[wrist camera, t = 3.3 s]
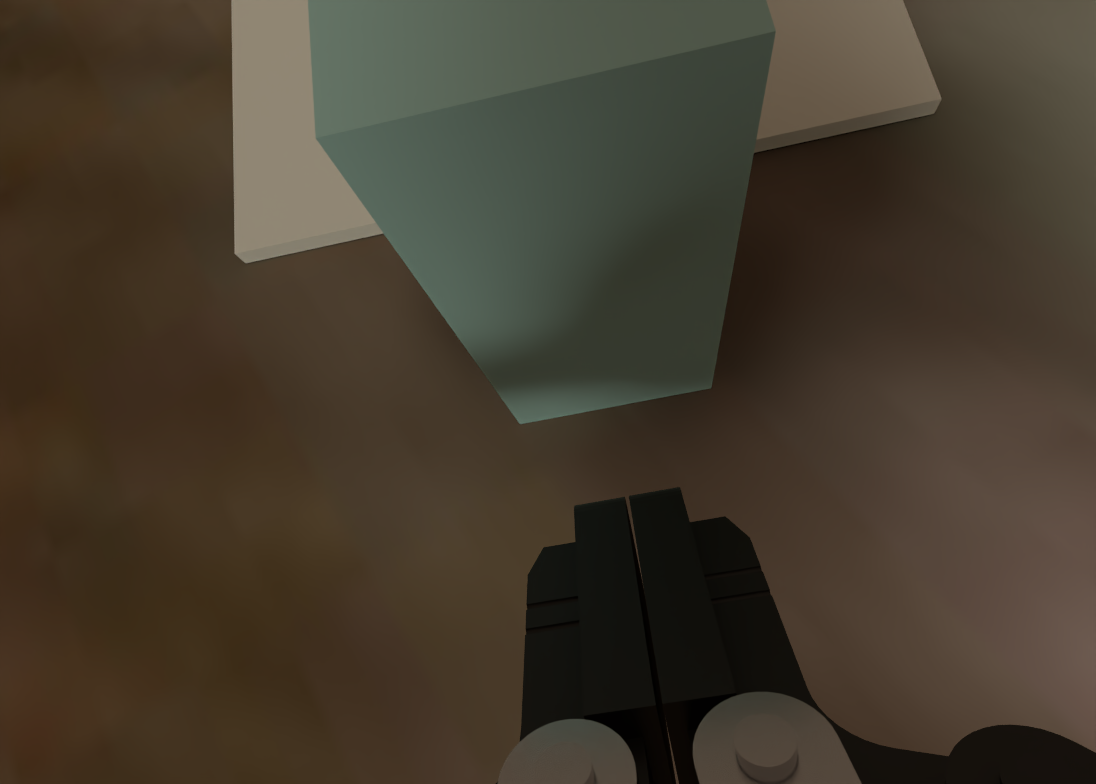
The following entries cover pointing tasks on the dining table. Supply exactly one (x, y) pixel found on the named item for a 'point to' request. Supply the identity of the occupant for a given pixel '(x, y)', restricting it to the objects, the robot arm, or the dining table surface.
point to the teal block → (554, 176)
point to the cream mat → (338, 216)
